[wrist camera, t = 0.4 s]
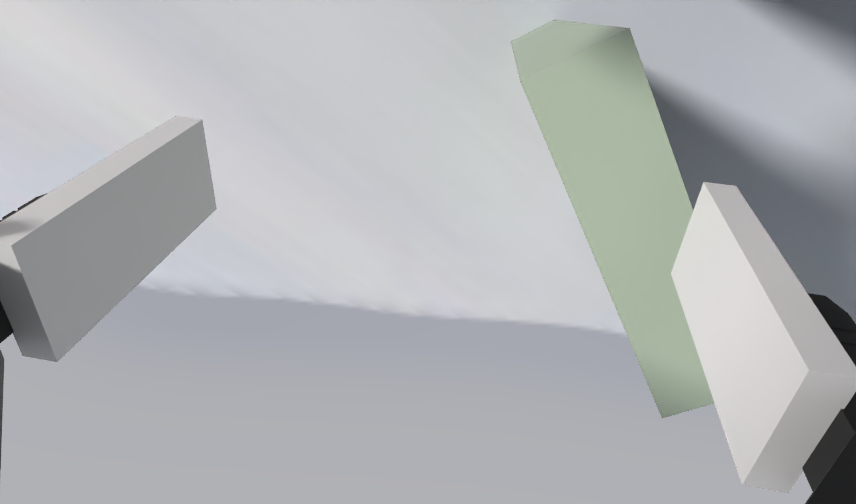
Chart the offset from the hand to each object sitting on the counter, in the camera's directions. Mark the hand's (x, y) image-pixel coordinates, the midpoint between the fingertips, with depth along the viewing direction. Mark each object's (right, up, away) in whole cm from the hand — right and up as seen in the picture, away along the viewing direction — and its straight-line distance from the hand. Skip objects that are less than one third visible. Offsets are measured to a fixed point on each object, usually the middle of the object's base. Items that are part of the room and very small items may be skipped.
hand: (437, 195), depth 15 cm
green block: (+9, +8, +24) cm, 26 cm away
